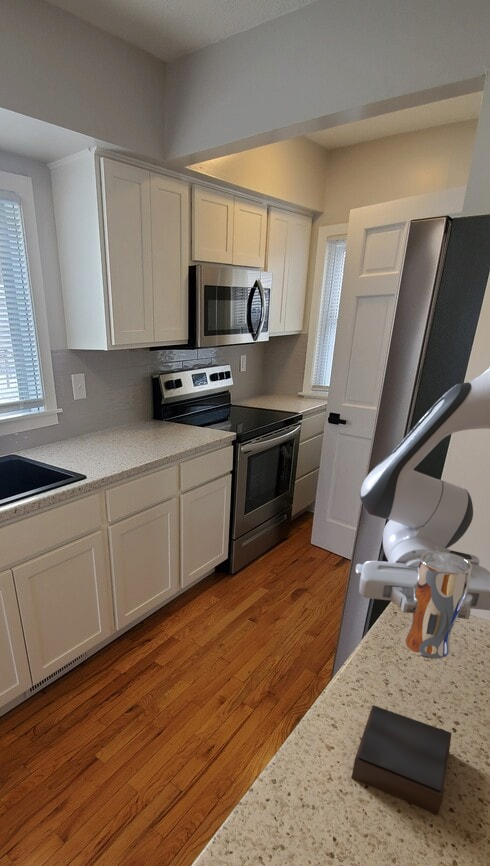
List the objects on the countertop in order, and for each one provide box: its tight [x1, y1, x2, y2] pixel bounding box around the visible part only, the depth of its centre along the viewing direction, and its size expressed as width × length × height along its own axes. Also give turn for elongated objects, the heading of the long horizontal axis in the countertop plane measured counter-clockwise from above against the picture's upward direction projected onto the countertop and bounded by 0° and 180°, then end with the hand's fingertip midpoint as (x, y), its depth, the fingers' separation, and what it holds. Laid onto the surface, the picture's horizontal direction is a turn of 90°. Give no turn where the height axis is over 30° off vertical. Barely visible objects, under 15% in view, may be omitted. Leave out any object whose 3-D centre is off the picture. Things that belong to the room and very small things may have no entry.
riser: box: [351, 705, 452, 816], centre depth 70 cm, size 12×11×4 cm
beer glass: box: [405, 552, 472, 660], centre depth 72 cm, size 7×7×15 cm
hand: (436, 612), depth 72 cm, fingers closed on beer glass, 6 cm apart
